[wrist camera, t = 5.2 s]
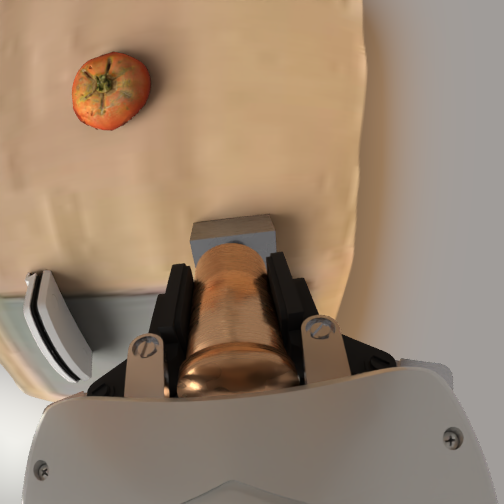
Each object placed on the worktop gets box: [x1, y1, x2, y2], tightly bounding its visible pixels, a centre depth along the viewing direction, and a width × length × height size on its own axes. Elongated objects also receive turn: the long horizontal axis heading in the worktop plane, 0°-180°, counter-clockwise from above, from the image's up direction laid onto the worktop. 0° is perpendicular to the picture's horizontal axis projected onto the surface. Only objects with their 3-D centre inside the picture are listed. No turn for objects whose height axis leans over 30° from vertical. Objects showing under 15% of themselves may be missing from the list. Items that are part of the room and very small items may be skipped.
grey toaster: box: [23, 270, 92, 382], centre depth 31 cm, size 17×5×10 cm, turn 2°
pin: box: [177, 243, 300, 398], centre depth 11 cm, size 4×4×7 cm
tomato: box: [72, 52, 151, 131], centre depth 20 cm, size 8×7×7 cm
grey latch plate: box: [190, 214, 276, 271], centre depth 32 cm, size 17×8×5 cm, turn 5°
